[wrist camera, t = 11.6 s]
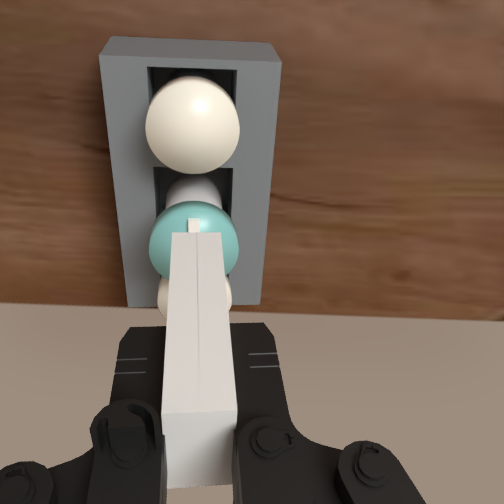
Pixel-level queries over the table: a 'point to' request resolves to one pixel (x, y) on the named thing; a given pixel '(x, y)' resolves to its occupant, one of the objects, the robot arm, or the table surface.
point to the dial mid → (192, 220)
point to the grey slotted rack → (161, 176)
